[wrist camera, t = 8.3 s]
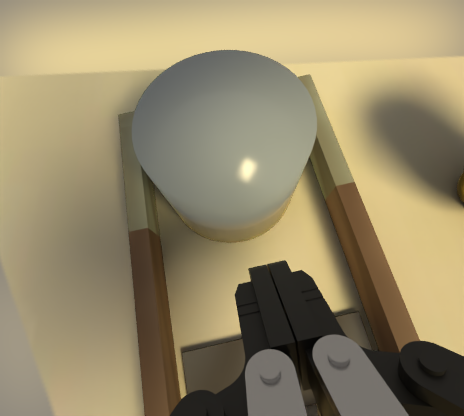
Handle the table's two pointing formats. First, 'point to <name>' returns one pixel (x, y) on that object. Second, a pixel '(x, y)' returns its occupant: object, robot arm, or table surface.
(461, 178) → the cup
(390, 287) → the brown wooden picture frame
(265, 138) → the slate stoneware canister
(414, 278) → the table surface
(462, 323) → the table surface
